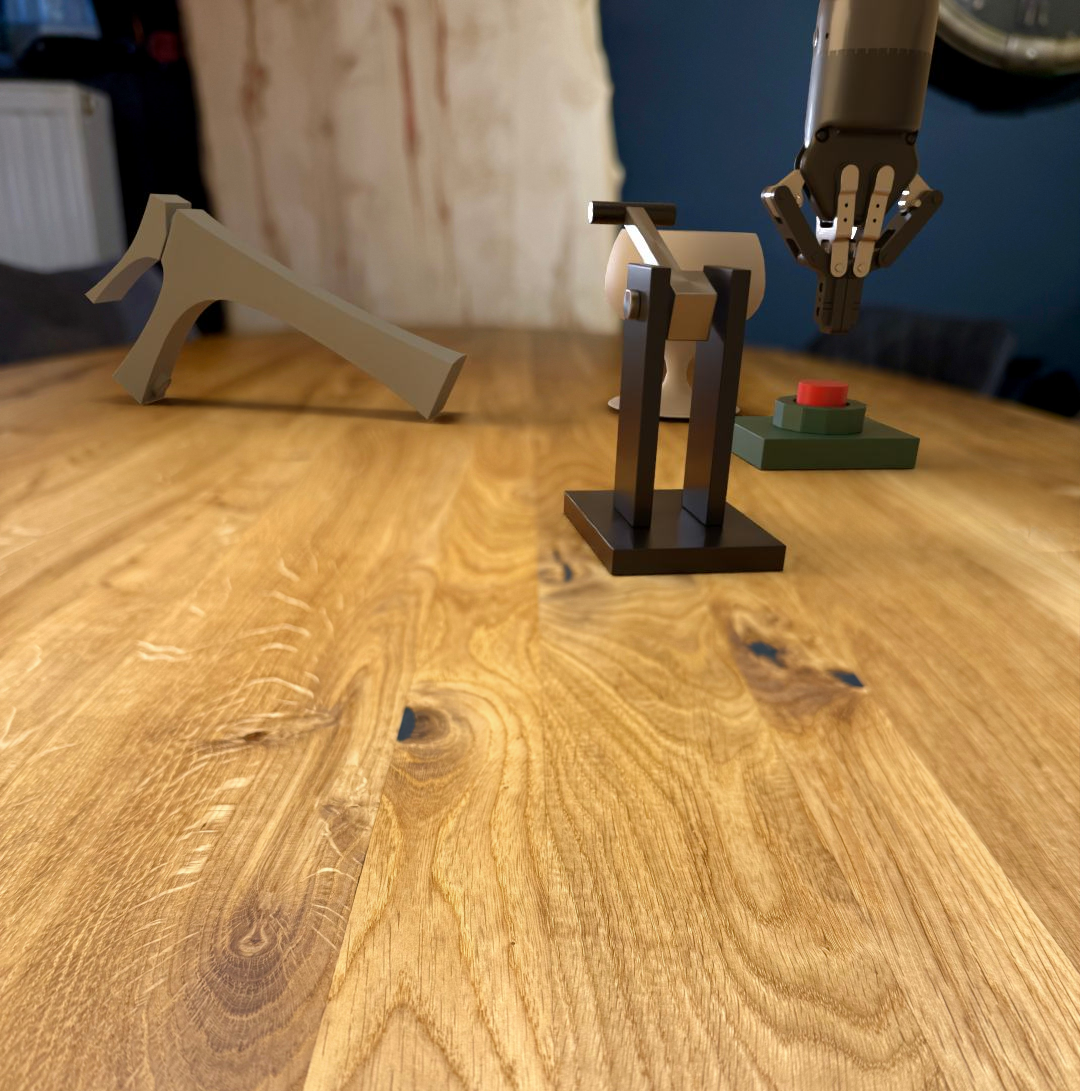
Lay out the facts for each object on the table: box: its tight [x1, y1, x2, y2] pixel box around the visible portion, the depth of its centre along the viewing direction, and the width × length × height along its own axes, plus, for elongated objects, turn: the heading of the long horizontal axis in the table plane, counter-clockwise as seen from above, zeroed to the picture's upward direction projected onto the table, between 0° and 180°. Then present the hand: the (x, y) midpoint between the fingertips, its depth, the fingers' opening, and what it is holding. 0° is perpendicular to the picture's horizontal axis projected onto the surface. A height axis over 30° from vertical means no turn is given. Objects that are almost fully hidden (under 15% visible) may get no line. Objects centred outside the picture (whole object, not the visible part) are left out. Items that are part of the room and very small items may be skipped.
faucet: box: [84, 193, 468, 420], centre depth 88 cm, size 6×17×30 cm
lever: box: [587, 200, 718, 341], centre depth 55 cm, size 14×5×2 cm, turn 10°
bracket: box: [563, 263, 787, 576], centre depth 54 cm, size 12×9×14 cm
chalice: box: [604, 228, 766, 419], centre depth 92 cm, size 14×14×15 cm
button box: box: [731, 394, 921, 471], centre depth 78 cm, size 12×9×4 cm
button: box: [796, 379, 850, 407], centre depth 77 cm, size 4×4×2 cm
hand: (834, 332), depth 75 cm, fingers closed
